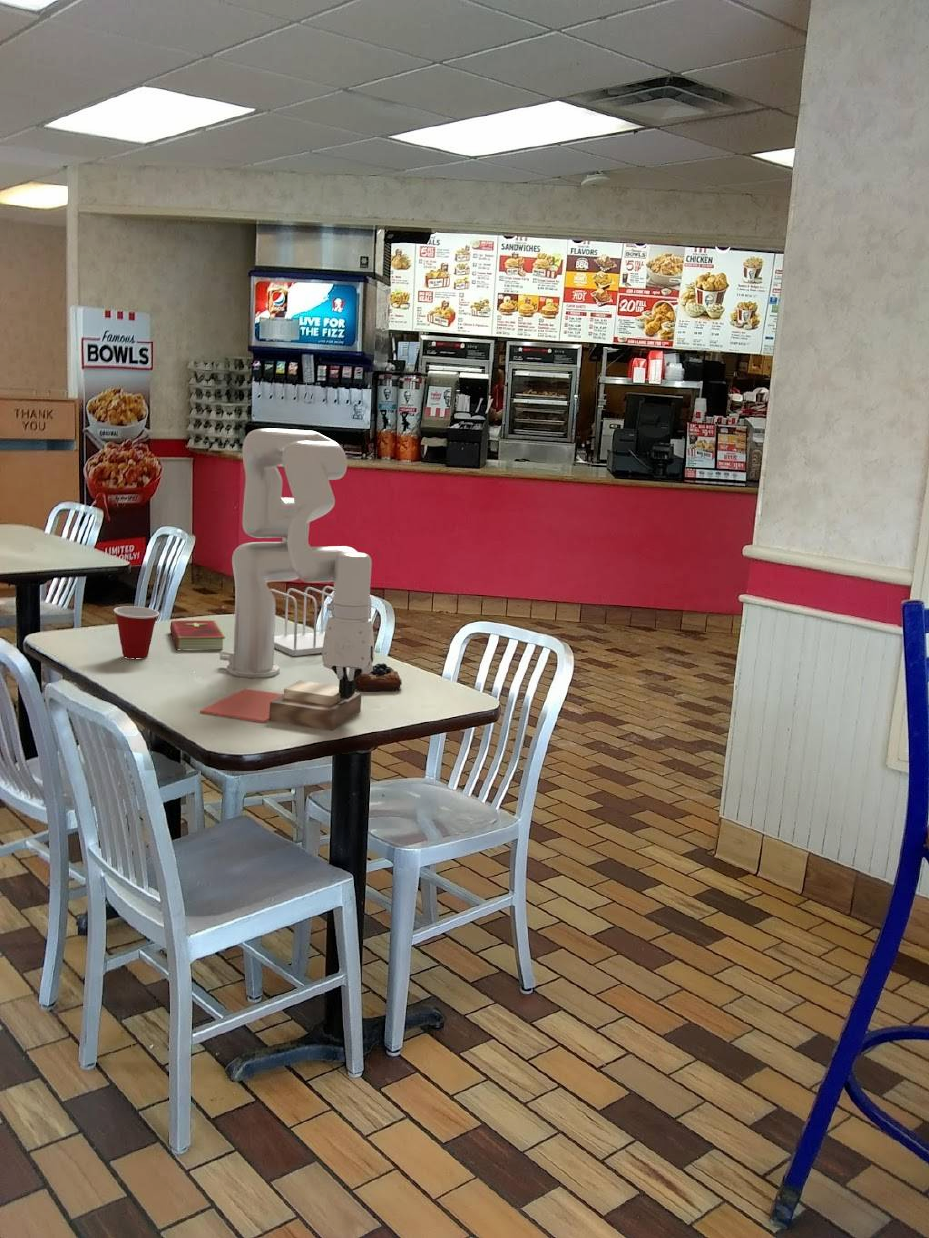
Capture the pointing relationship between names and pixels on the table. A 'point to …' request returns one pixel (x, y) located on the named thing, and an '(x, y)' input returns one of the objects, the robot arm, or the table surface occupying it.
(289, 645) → the file sorter
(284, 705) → the square wooden slab
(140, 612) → the plastic cup
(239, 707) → the mat
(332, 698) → the light wooden block
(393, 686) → the pastry
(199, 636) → the hardcover book
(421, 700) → the table surface
